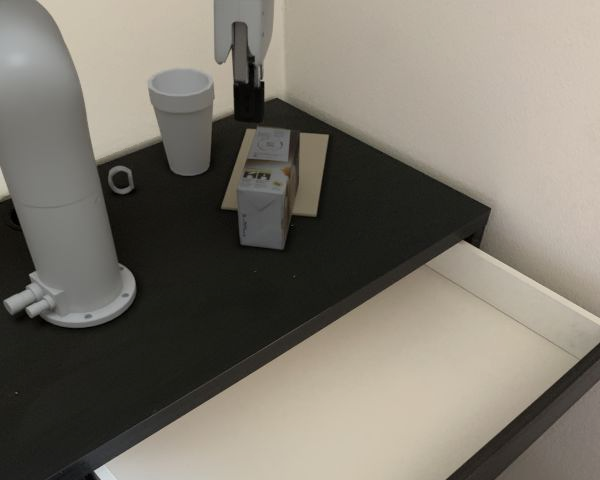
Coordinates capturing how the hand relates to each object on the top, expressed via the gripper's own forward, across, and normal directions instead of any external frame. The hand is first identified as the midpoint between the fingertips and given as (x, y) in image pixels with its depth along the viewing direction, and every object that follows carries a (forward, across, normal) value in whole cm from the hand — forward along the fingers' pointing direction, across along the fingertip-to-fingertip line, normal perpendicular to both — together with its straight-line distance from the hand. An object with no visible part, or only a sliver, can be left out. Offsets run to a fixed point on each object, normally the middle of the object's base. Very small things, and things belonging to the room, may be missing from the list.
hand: (249, 118), depth 75 cm
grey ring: (+20, -14, -22) cm, 32 cm away
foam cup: (+20, -23, -13) cm, 33 cm away
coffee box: (+15, -2, +1) cm, 15 cm away
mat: (+19, -23, +1) cm, 30 cm away
